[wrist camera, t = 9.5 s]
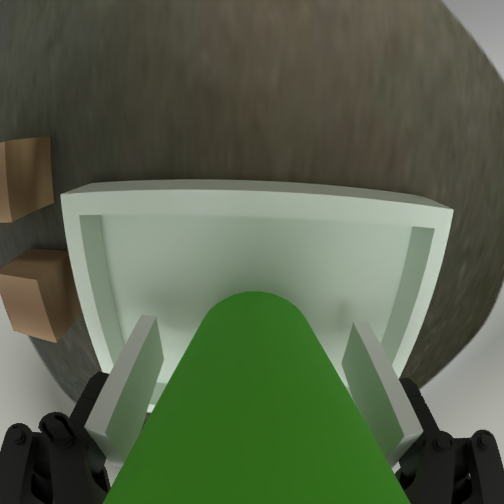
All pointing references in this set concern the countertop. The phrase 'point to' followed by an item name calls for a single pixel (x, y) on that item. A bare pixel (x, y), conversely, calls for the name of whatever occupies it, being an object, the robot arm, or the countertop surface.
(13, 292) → the walnut block
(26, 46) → the countertop surface
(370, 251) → the tray
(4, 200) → the walnut block
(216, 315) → the cup
